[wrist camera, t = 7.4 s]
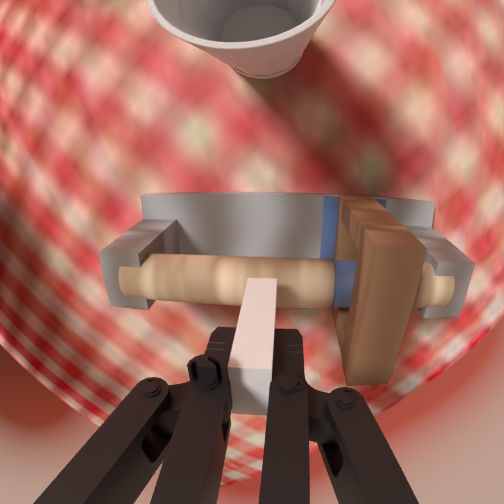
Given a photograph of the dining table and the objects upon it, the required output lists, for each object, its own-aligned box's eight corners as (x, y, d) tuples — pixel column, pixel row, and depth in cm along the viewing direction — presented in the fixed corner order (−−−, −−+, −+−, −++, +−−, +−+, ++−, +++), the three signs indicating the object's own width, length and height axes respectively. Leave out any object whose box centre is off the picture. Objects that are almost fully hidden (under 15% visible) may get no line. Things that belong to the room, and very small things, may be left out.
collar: (329, 296, 25) (346, 385, 16) (339, 194, 21) (376, 245, 12) (358, 296, 24) (386, 383, 15) (371, 196, 21) (426, 248, 12)
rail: (156, 278, 27) (114, 332, 20) (144, 194, 24) (88, 225, 17) (415, 286, 25) (452, 343, 17) (431, 201, 22) (486, 236, 14)
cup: (335, 60, 19) (381, 1, 8) (244, 108, 21) (202, 87, 10) (279, -15, 16) (270, -106, 6) (192, 31, 19) (118, -30, 8)
